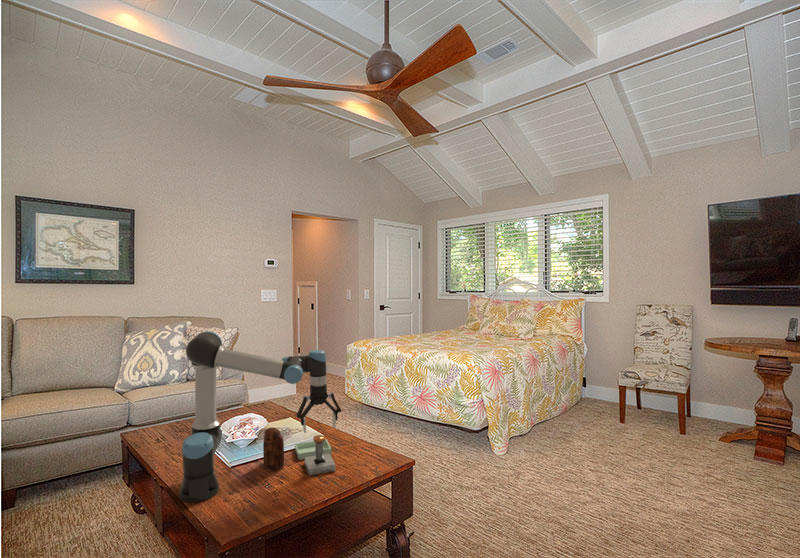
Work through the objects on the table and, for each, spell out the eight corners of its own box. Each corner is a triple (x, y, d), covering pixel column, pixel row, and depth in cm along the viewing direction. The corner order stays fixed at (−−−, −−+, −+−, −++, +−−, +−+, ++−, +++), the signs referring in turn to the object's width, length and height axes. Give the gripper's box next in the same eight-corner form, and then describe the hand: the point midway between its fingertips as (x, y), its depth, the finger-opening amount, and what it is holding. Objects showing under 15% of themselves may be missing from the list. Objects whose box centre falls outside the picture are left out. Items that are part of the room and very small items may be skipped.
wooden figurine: (258, 466, 218) (257, 428, 216) (267, 460, 224) (266, 424, 222) (278, 471, 213) (277, 433, 211) (287, 465, 219) (286, 428, 217)
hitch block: (308, 475, 209) (308, 468, 209) (304, 463, 220) (304, 457, 220) (335, 470, 213) (335, 464, 213) (329, 459, 225) (329, 453, 224)
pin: (315, 470, 214) (314, 440, 212) (313, 465, 218) (312, 436, 217) (326, 468, 215) (325, 438, 214) (324, 463, 220) (323, 434, 219)
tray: (298, 459, 224) (298, 453, 224) (294, 449, 235) (294, 443, 235) (331, 454, 230) (331, 448, 230) (326, 444, 241) (326, 438, 241)
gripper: (291, 390, 206) (293, 436, 208) (346, 383, 215) (348, 428, 216) (289, 385, 213) (290, 430, 215) (343, 378, 222) (344, 422, 223)
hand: (319, 429), depth 216 cm, fingers open, 13 cm apart
